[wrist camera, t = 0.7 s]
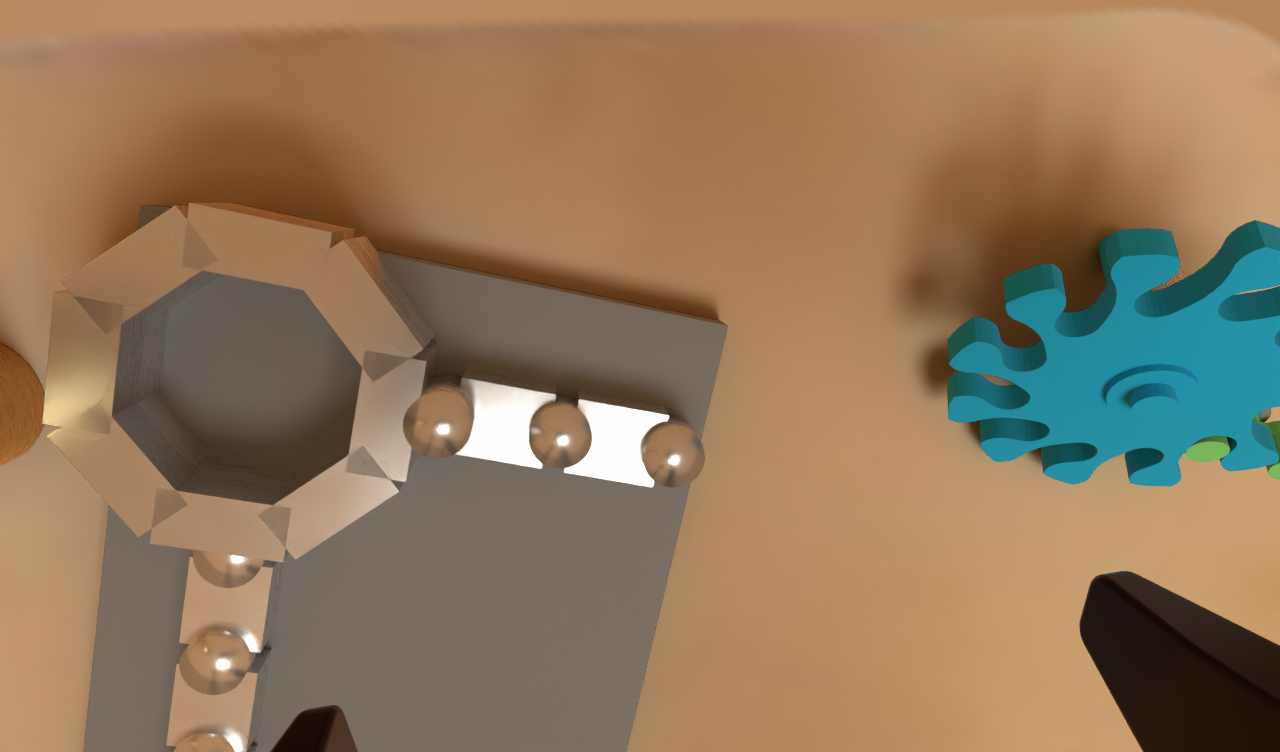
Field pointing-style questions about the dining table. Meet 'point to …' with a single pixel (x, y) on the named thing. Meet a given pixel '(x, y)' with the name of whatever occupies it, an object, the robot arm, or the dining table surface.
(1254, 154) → the dining table surface
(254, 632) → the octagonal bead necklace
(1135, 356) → the gear
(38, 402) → the golden flared cup
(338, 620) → the grey base plate
